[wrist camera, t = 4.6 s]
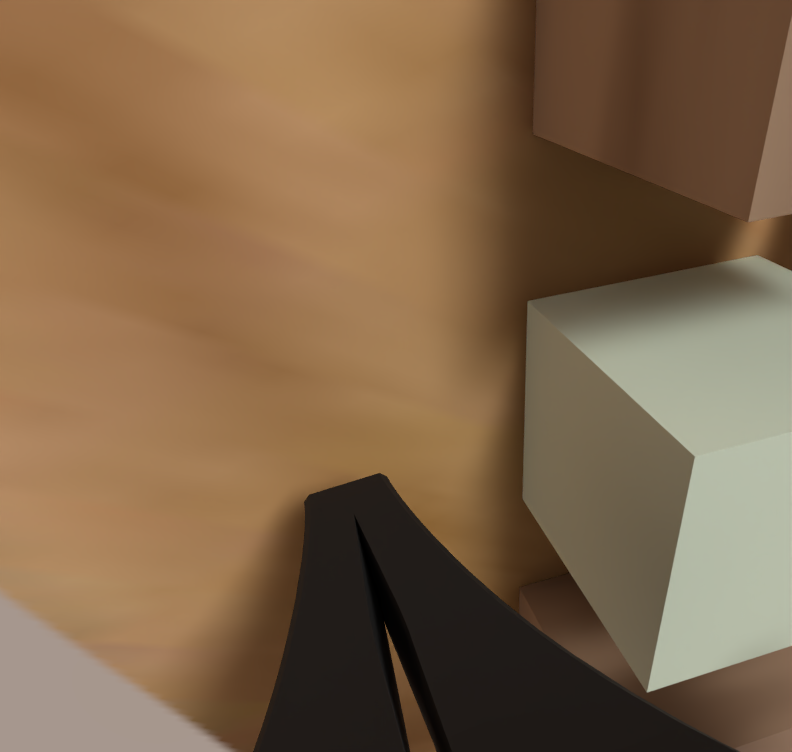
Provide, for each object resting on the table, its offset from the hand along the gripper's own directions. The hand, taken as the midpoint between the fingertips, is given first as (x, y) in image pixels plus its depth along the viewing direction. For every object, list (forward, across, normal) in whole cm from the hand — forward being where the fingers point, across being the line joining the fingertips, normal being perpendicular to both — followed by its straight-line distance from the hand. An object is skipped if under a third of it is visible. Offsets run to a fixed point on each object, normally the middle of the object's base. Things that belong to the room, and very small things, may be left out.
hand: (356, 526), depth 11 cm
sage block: (+2, -6, 0) cm, 7 cm away
